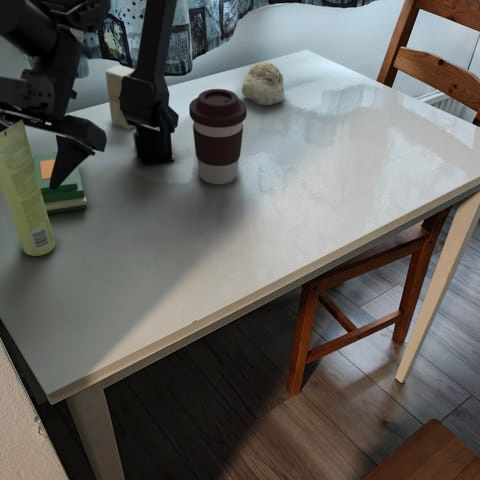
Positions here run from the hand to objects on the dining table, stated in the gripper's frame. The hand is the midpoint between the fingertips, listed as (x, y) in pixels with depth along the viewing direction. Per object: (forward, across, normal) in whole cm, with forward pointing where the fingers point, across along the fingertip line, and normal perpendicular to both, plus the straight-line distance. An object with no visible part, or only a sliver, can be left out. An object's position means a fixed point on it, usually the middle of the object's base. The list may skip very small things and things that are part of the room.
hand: (24, 182), depth 74 cm
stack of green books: (-2, -7, +19) cm, 20 cm away
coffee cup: (-13, +16, +31) cm, 37 cm away
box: (-21, -10, +39) cm, 45 cm away
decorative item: (-39, +12, +56) cm, 69 cm away
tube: (+9, -1, +9) cm, 12 cm away
